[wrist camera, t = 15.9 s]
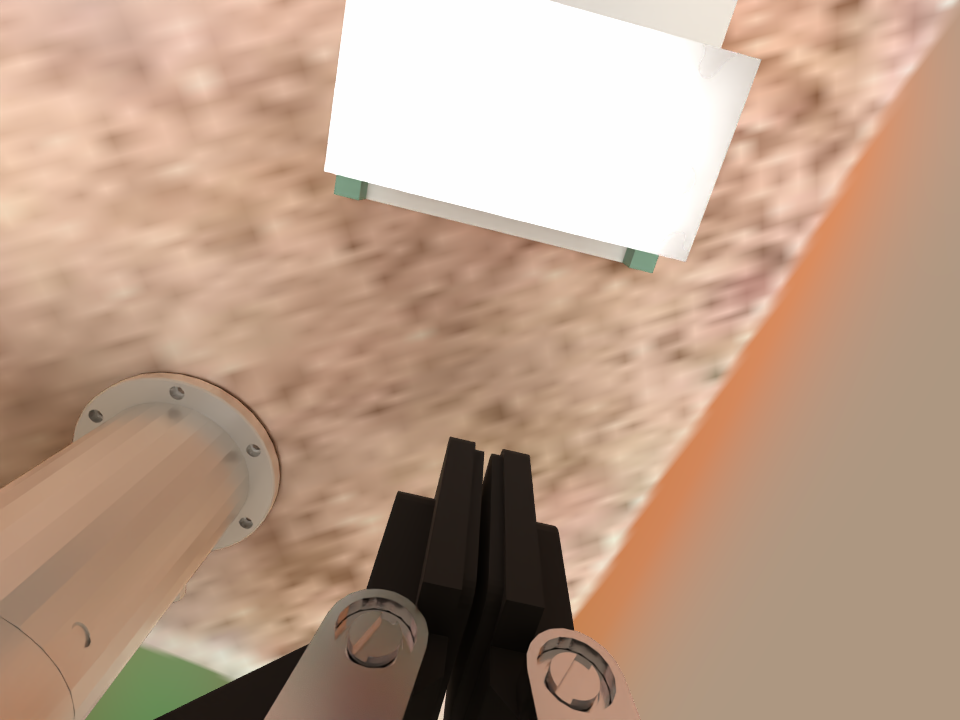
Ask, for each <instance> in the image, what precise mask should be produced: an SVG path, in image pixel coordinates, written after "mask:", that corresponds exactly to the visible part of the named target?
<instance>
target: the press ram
mask: <svg viewBox="0 0 960 720" xmlns="http://www.w3.org/2000/svg"><path fill="white" fill-rule="evenodd" d="M760 62H761V59H757V58H754V57H750V56H746V55H743V54H739V53H735V52H732V51H728V50H725V49H721V48H717V47H714V46H710V45H707V44H703V43H699V42H696V41H692V40H688V39H685V38H681V37H678V36H674V35H670V34H667V33H663V32H659V31H656V30H652V29H649V28H645V27H641V26H638V25H634V24H631V23H627V22H623V21H620V20H616V19H612V18H609V17H605V16H602V15H598V14H594V13H591V12H587V11H583V10H580V9H576V8H573V7H569V6H565V5H562V4H558V3H554V2H551V1H547V0H346V6H345V14H344V22H343V30H342V37H341V45H340V53H339V61H338V69H337V76H336V84H335V92H334V100H333V108H332V115H331V123H330V131H329V139H328V147H327V154H326V162H325V170H324V171H325V172H329V173H333V174H337V175H341V176H345V177H349V178H353V179H357V180H361V181H365V182H369V183H373V184H377V185H381V186H385V187H389V188H393V189H397V190H401V191H405V192H409V193H413V194H417V195H421V196H425V197H429V198H433V199H437V200H441V201H445V202H449V203H453V204H457V205H461V206H465V207H469V208H473V209H477V210H481V211H485V212H489V213H493V214H497V215H501V216H505V217H509V218H513V219H517V220H521V221H525V222H529V223H533V224H537V225H541V226H545V227H549V228H553V229H557V230H561V231H565V232H569V233H573V234H577V235H581V236H585V237H589V238H593V239H597V240H601V241H605V242H609V243H613V244H617V245H621V246H625V247H629V248H633V249H637V250H641V251H645V252H649V253H652V254H656V255H660V256H664V257H668V258H672V259H676V260H680V261H684V262H686V260H687V257H688V254H689V252H690V249H691V246H692V244H693V241H694V238H695V236H696V233H697V230H698V228H699V225H700V222H701V220H702V217H703V214H704V212H705V209H706V206H707V204H708V201H709V198H710V196H711V193H712V190H713V188H714V185H715V182H716V180H717V177H718V174H719V171H720V169H721V166H722V163H723V161H724V158H725V155H726V153H727V150H728V147H729V145H730V142H731V139H732V137H733V134H734V131H735V129H736V126H737V123H738V121H739V118H740V115H741V113H742V110H743V107H744V105H745V102H746V99H747V97H748V94H749V91H750V89H751V86H752V83H753V81H754V78H755V75H756V73H757V70H758V67H759V65H760Z"/></svg>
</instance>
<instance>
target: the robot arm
mask: <svg viewBox="0 0 960 720" xmlns="http://www.w3.org/2000/svg"><path fill="white" fill-rule="evenodd" d="M483 464H484V452H483V451H479V450H475V442H471V441H466V440H462V439H458V438H453V437H450V438H449V442H448V446H447V450H446V454H445V458H444V462H443V466H442V470H441V474H440V478H439V482H438V486H437V490H436V494H435V498H434V499H432V498H428V497H423V496H419V495H414V494H410V493H405V492H401V491H398V492H397V495H396V498H395V501H394V504H393V507H392V511H391V514H390V517H389V520H388V523H387V526H386V529H385V532H384V536H383V539H382V542H381V545H380V548H379V551H378V554H377V557H376V560H375V564H374V567H373V570H372V573H371V576H370V579H369V582H368V585H367V589H364V590H361V591H358V592H354V593H351V594H349V595H347V596H346V597H344V598H342V599H341V600H339V601H338V602H337V603H336V604H335V605H334V606H333V607H332V609H331V610H330V611H329V612H328V613H327V615H326V617H325V618H324V620H323V622H322V623H321V625H320V627H319V628H318V630H317V632H316V634H315V635H314V637H313V639H312V640H311V642H310V644H308V645H306V646H304V647H302V648H299V649H297V650H295V651H293V652H291V653H289V654H287V655H285V656H283V657H281V658H279V659H277V660H275V661H273V662H271V663H269V664H267V665H265V666H263V667H261V668H259V669H257V670H254V671H252V672H250V673H248V674H246V675H244V676H242V677H240V678H238V679H236V680H234V681H232V682H230V683H228V684H226V685H224V686H222V687H220V688H218V689H216V690H214V691H212V692H209V693H207V694H206V695H203V696H201V697H199V698H197V699H195V700H193V701H191V702H189V703H187V704H185V705H183V706H181V707H179V708H177V709H175V710H173V711H171V712H169V713H166V714H164V715H163V716H160V717H158V718H156V719H154V720H437V719H438V716H439V713H440V709H441V706H442V703H443V700H444V696H445V693H446V700H445V709H444V719H443V720H641V719H640V717H639V714H638V712H637V709H636V706H635V704H634V701H633V698H632V696H631V693H630V691H629V688H628V685H627V683H626V681H625V678H624V675H623V673H622V672H621V670H620V668H619V666H618V664H617V662H616V661H615V660H614V659H613V657H612V656H611V655H610V654H609V653H608V651H607V650H606V649H605V648H604V647H602V646H601V645H600V644H598V643H597V642H596V641H595V640H593V639H592V638H590V637H588V636H586V635H584V634H581V633H580V632H577V631H574V626H573V619H572V613H571V607H570V600H569V594H568V588H567V582H566V575H565V569H564V563H563V556H562V550H561V544H560V538H559V532H558V529H557V527H556V526H552V525H548V524H543V523H539V522H536V514H535V504H534V494H533V484H532V474H531V464H530V456H529V455H527V454H523V453H519V452H514V451H510V450H505V449H503V450H502V452H501V455H496V454H491V456H490V459H489V463H488V466H487V470H486V473H485V477H484V480H483ZM279 481H280V473H279V463H278V458H277V455H276V452H275V449H274V446H273V443H272V442H271V440H270V438H269V436H268V434H267V432H266V430H265V429H264V427H263V426H262V425H261V423H260V422H259V421H258V420H257V418H256V417H255V416H254V415H253V413H252V412H251V411H249V410H248V409H247V408H246V407H245V406H244V405H243V404H242V403H241V402H240V401H238V400H237V399H236V398H234V397H233V396H231V395H230V394H228V393H227V392H225V391H224V390H222V389H220V388H218V387H216V386H214V385H212V384H210V383H207V382H205V381H203V380H200V379H197V378H193V377H189V376H185V375H182V374H172V373H162V372H160V373H149V374H141V375H137V376H134V377H130V378H127V379H124V380H122V381H120V382H118V383H116V384H114V385H112V386H110V387H108V388H107V389H105V390H104V391H103V392H101V393H100V394H98V395H97V396H96V397H94V398H93V399H92V400H91V401H90V402H89V403H88V405H87V406H86V407H85V408H84V409H83V411H82V413H81V415H80V417H79V419H78V421H77V424H76V427H75V432H74V436H73V443H72V444H70V445H69V446H67V447H65V448H64V449H62V450H61V451H59V452H58V453H56V454H55V455H53V456H51V457H50V458H48V459H47V460H45V461H44V462H42V463H40V464H39V465H37V466H36V467H34V468H33V469H31V470H29V471H28V472H26V473H25V474H23V475H22V476H20V477H19V478H17V479H15V480H14V481H12V482H11V483H9V484H8V485H6V486H4V487H3V488H1V489H0V720H85V718H86V717H87V716H88V714H89V713H90V712H91V710H92V709H93V708H94V706H95V705H96V704H97V702H98V701H99V700H100V698H101V697H102V696H103V694H104V693H105V692H106V690H107V689H108V688H109V686H110V685H111V684H112V682H113V681H114V680H115V678H116V677H117V676H118V674H119V673H120V671H121V670H122V669H123V668H124V666H125V665H126V664H127V662H128V661H129V660H130V658H131V657H132V656H133V654H134V653H135V652H136V650H137V649H138V648H139V646H140V645H141V644H142V642H143V641H144V640H145V638H146V637H147V636H148V634H149V633H150V632H151V630H152V629H153V628H154V626H155V625H156V624H157V622H158V621H159V620H160V618H161V617H162V616H163V614H164V613H165V612H166V610H167V609H168V608H169V606H170V605H171V604H172V603H174V602H177V601H179V600H181V599H182V598H183V597H184V595H185V592H186V584H187V582H188V581H189V580H190V578H191V577H192V576H193V574H194V573H195V572H196V570H197V569H198V568H199V566H200V565H201V564H202V562H203V561H204V560H205V558H206V557H207V556H208V554H209V553H210V552H211V551H215V550H220V549H224V548H227V547H230V546H232V545H234V544H236V543H239V542H241V541H242V540H244V539H245V538H247V537H248V536H249V535H251V534H252V533H253V532H254V531H255V530H256V529H257V528H258V527H259V526H260V525H261V523H262V522H263V521H264V520H265V518H266V517H267V515H268V513H269V512H270V510H271V509H272V507H273V505H274V502H275V499H276V497H277V494H278V489H279ZM482 481H483V484H482Z"/></svg>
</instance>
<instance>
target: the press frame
mask: <svg viewBox="0 0 960 720" xmlns="http://www.w3.org/2000/svg"><path fill="white" fill-rule="evenodd" d="M547 1H551V2H554V3H558V4H562V5H565V6H569V7H573V8H576V9H580V10H583V11H587V12H591V13H594V14H598V15H602V16H605V17H609V18H612V19H616V20H620V21H623V22H627V23H631V24H634V25H638V26H641V27H645V28H649V29H652V30H656V31H659V32H663V33H667V34H670V35H674V36H678V37H681V38H685V39H688V40H692V41H696V42H699V43H703V44H707V45H710V46H714V47H717V48H721V46H722V43H723V40H724V38H725V35H726V32H727V29H728V26H729V23H730V20H731V18H732V15H733V12H734V9H735V6H736V3H737V0H547ZM334 194H336V195H340V196H344V197H348V198H352V199H356V200H362V199H369V200H373V201H377V202H381V203H385V204H389V205H393V206H397V207H401V208H405V209H409V210H413V211H417V212H421V213H425V214H429V215H433V216H437V217H441V218H445V219H449V220H453V221H457V222H461V223H465V224H469V225H473V226H477V227H481V228H485V229H489V230H493V231H497V232H501V233H505V234H509V235H513V236H517V237H521V238H525V239H529V240H533V241H537V242H541V243H545V244H549V245H553V246H557V247H562V248H566V249H570V250H574V251H578V252H582V253H586V254H590V255H594V256H598V257H602V258H606V259H610V260H614V261H618V262H622V263H624V264H625V265H626V266H628V267H629V268H633V269H637V270H641V271H645V272H649V273H653V270H654V268H655V265H656V262H657V259H658V256H659V255H656V254H652V253H649V252H645V251H641V250H637V249H633V248H629V247H625V246H621V245H617V244H613V243H609V242H605V241H601V240H597V239H593V238H589V237H585V236H581V235H577V234H573V233H569V232H565V231H561V230H557V229H553V228H549V227H545V226H541V225H537V224H533V223H529V222H525V221H521V220H517V219H513V218H509V217H505V216H501V215H497V214H493V213H489V212H485V211H481V210H477V209H473V208H469V207H465V206H461V205H457V204H453V203H449V202H445V201H441V200H437V199H433V198H429V197H425V196H421V195H417V194H413V193H409V192H405V191H401V190H397V189H393V188H389V187H385V186H381V185H377V184H373V183H369V182H365V181H361V180H357V179H353V178H349V177H345V176H341V175H337V176H336V183H335V190H334Z"/></svg>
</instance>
